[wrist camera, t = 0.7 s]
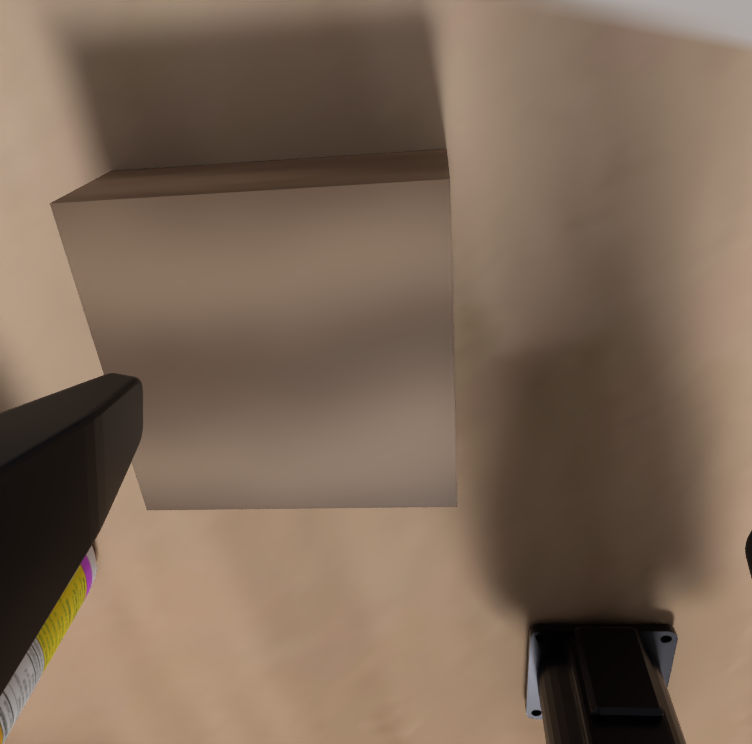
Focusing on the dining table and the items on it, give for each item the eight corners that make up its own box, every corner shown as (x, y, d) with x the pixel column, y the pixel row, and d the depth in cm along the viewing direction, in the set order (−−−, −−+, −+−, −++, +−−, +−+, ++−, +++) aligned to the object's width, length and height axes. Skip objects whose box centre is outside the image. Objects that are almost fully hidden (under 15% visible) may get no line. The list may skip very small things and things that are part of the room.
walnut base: (453, 439, 26) (457, 506, 22) (183, 444, 27) (147, 510, 24) (446, 148, 21) (449, 179, 17) (110, 170, 22) (49, 203, 18)
